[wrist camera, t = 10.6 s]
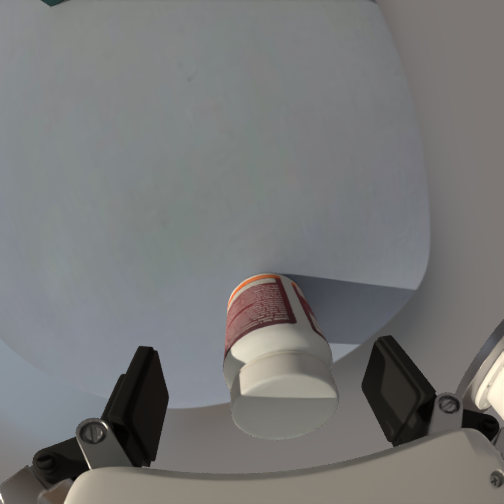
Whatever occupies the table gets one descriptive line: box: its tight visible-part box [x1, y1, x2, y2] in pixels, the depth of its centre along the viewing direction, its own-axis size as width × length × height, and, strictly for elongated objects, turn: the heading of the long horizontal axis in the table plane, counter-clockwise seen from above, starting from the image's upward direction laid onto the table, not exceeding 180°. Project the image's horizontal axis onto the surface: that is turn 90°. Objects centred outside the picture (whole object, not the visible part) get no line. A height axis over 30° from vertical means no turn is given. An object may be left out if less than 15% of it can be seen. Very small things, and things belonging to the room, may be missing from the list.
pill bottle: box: [223, 273, 339, 440], centre depth 13 cm, size 5×5×8 cm
